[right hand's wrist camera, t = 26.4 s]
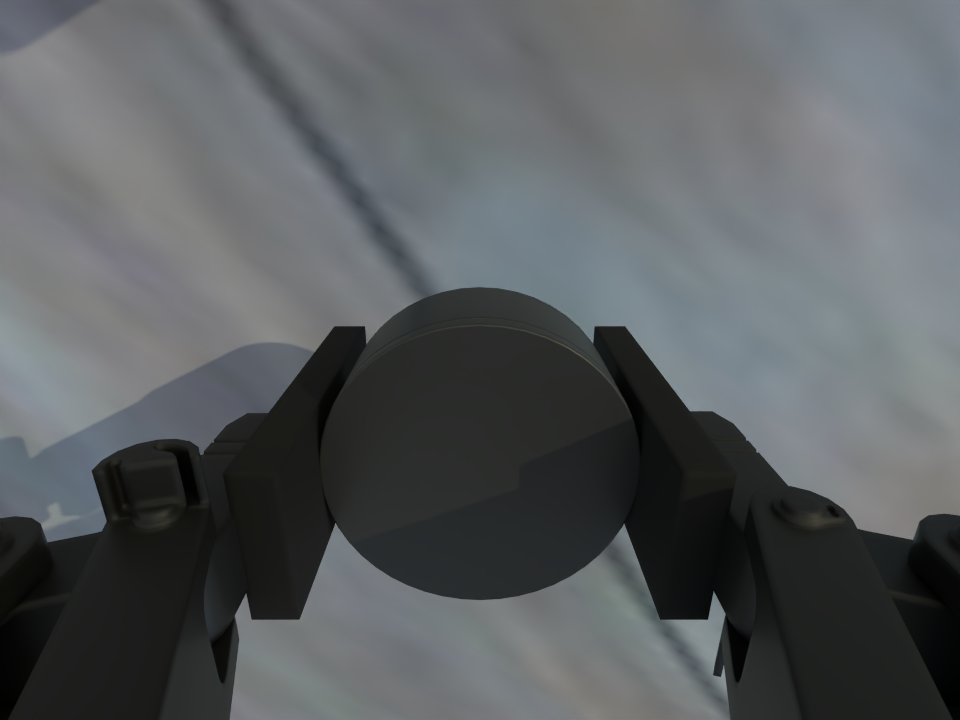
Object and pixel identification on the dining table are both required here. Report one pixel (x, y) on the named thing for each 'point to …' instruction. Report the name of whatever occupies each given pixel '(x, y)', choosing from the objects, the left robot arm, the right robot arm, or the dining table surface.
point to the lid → (480, 447)
